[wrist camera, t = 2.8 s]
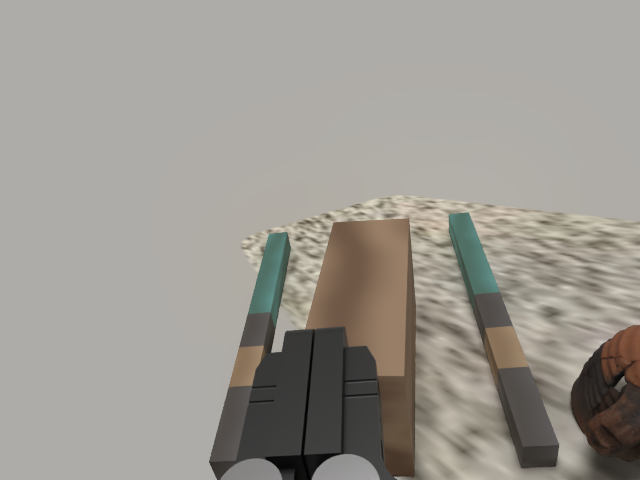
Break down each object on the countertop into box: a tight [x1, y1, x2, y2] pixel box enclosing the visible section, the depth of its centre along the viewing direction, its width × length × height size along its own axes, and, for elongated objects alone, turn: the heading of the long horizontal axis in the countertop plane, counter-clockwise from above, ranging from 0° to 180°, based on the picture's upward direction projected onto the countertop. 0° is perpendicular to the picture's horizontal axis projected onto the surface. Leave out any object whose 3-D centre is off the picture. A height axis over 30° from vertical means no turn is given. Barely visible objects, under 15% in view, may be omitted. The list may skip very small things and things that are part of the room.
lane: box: [209, 212, 559, 480], centre depth 42 cm, size 21×27×2 cm
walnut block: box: [305, 218, 416, 477], centre depth 36 cm, size 6×16×9 cm, turn 170°
